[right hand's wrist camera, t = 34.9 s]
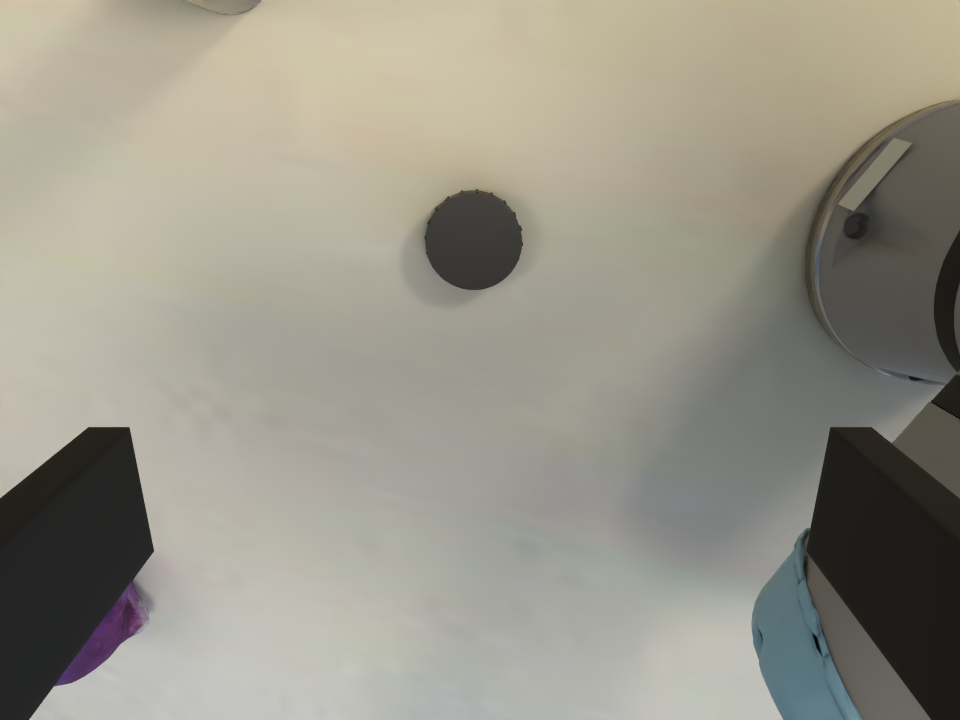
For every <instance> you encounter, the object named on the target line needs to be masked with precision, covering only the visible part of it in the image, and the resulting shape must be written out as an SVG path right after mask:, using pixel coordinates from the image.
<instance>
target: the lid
mask: <svg viewBox="0 0 960 720" xmlns="http://www.w3.org/2000/svg"><path fill="white" fill-rule="evenodd" d="M521 231H522V229H521V226H519V224H518V221H517V219H516V214H515V212H512V210H511V209H510V207H509V206H508V205H507V204H506V201H505V200H504V201H502V200H501V199H499V198H498V197H496V196H494V195H493V193H491V194H490V193H487V192H482V191H478V189H476V191H465V192H463V191H461V193H458V194H455V195H453V196H452V197H450V198H449V196H448V197H447V199H446V200H445V201H444V202H443V203H442V204H441V205H440V206H439V207H436V209H435V213H434V214H433V216H432V219H431V220H430V219H429V222H428V229H427V233H426V236H425V239H426V250H427V252H426V253H427V255H428V258H429V260H430V263H431V264H432V267H433V268H434V269H435V271H436V272H437V273H438V274H439V275H440V276H441V277H442V278H443V279H444V280H445V281H447V282H448V283H450V284H452V285H454V286H456V287H459V288H463V289H468V290H480V289H485V288H489V287H492V286H494V285H496V284H498V283H499V282H501V281H502V280H504V279H505V278H506V277H507V276H508V275H509V274H510V273H511V272H512V270H513V269H514V267H515V266H516V264H517V262H518V261H519V257H520V253H521V248H522V246H523V243H522V236H521Z"/></svg>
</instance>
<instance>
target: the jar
mask: <svg viewBox="0 0 960 720" xmlns="http://www.w3.org/2000/svg"><path fill="white" fill-rule="evenodd" d="M184 1H187V2H189V3H192V4H195V5H197V6H200V7H203V8H205V9H208V10H211V11H213V12H216V13H220V14H226V15H234V14H240V13H243V12H246V11H248V10H250V9H251V8H253V7H254V6H256V5H257V4H258V3H259V2H260V1H261V0H184Z"/></svg>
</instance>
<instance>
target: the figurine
mask: <svg viewBox="0 0 960 720" xmlns="http://www.w3.org/2000/svg"><path fill="white" fill-rule="evenodd" d="M148 624H149V614H148V609H147V607H146V605H145V602H144V601H143V599H142V598H141V597H140V595H139V594H138V593H137V591H136V590H135V588H134V585H133V583H132V581H131V583H130V584H129V586H128V587H127V588H126V590H125V591H124V592H123V594H122V595H121V596H120V598H119V599H118V600H117V602H116V603H115V604H114V606H113V607H112V608H111V610H110V611H109V612H108V614H107V615H106V617H105V618H104V619H103V621H102V622H101V623H100V625H99V626H98V627H97V629H96V630H95V631H94V633H93V634H92V635H91V637H90V638H89V639H88V641H87V642H86V643H85V645H84V646H83V648H82V649H81V650H80V652H79V653H78V654H77V656H76V657H75V658H74V660H73V661H72V662H71V664H70V665H69V666H68V668H67V669H66V670H65V672H64V673H63V674H62V676H61V677H60V679H59V680H58V681H57V683H56V684H55V685H54V686H58V685H64V684H68V683H72V682H74V681H77V680H78V679H80V678H82V677H84V676H86V675H87V674H89V673H90V672H92V671H93V670H95V669H96V668H97V667H98V666H100V665H101V664H102V663H103V662H104V661H106V660H107V659H108V658H109V657H110V656H111V655H112V654H113V652H114V651H115V650H116V649H117V647H118V646H119V645H120V644H121V643H123V642H124V641H125V640H127V639H128V638H129V637H131V636H133V635H135V634H137V633H139V632H141V631H143V630H144V629H145V628H146V627H147V625H148Z"/></svg>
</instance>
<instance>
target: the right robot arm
mask: <svg viewBox="0 0 960 720" xmlns="http://www.w3.org/2000/svg"><path fill="white" fill-rule="evenodd" d="M806 280H807V287H808V293H809V296H810V300H811V303H812V306H813V309H814V311H815V314H816V316H817V318H818V320H819V321H820V323H821V325H822V327H823V328H824V329H825V331H826V332H827V334H828V335H829V336H830V337H831V338H832V339H833V340H834V341H835V343H836V344H837V345H839V346H840V347H841V348H842V349H843V350H844V351H846V352H847V353H849V354H850V355H852V356H853V357H855V358H856V359H858V360H859V361H861V362H862V363H864V364H865V365H867V366H869V367H871V368H873V369H875V370H876V371H879V372H881V373H884V374H886V375H889V376H893V377H895V378H899V379H902V380H906V381H910V382H915V383H922V384H933V385H946V386H945V387H944V388H943V389H942V390H941V391H940V392H939V393H938V394H937V396H936V397H935V398H934V399H933V400H931V402H929V403H928V404H927V405H926V406H925V407H924V408H923V410H922V411H921V412H920V413H919V414H918V415H917V416H916V417H915V418H914V420H913V421H912V422H911V423H910V424H909V425H908V426H907V427H906V429H905V430H904V431H903V432H902V433H901V434H900V435H899V436H898V437H897V439H896V440H895V441H894V442H893V443H890V442H889V441H888V440H887V439H885V438H884V437H883V436H882V435H880V434H879V433H878V432H877V431H875V430H874V429H873V428H872V427H831V428H830V433H829V438H828V443H827V448H826V453H825V458H824V463H823V468H822V473H821V478H820V483H819V488H818V493H817V498H816V503H815V508H814V513H813V518H812V523H811V528H810V529H805V530H804V531H803V532H802V533H801V534H800V535H799V537H798V538H797V540H796V543H795V546H794V550H793V552H792V553H791V554H790V555H789V557H788V558H787V559H786V560H785V562H784V563H783V564H782V565H781V566H780V568H779V569H778V570H777V571H776V573H775V574H774V575H773V576H772V578H771V579H770V580H769V581H768V583H767V584H766V585H765V586H764V588H763V589H762V590H761V592H760V594H759V595H758V597H757V599H756V602H755V605H754V609H753V614H752V635H753V644H754V647H755V650H756V653H757V656H758V658H759V665H760V670H761V673H762V675H763V678H764V680H765V683H766V685H767V687H768V689H769V692H770V694H771V696H772V698H773V701H774V703H775V705H776V707H777V708H778V710H779V712H780V714H781V716H782V718H783V720H960V421H959V420H960V100H953V101H949V102H945V103H940V104H937V105H934V106H931V107H928V108H925V109H922V110H920V111H918V112H915V113H913V114H911V115H909V116H907V117H905V118H903V119H901V120H899V121H898V122H896V123H894V124H893V125H891V126H890V127H888V128H887V129H885V130H883V131H882V132H881V133H879V134H878V135H877V136H876V137H874V138H873V139H872V140H870V141H869V142H868V143H867V144H866V145H865V146H864V147H863V148H862V149H860V150H859V151H858V152H857V153H856V154H855V156H854V157H853V158H852V159H851V160H850V161H849V162H848V163H847V164H846V166H845V167H844V168H843V169H842V171H841V172H840V173H839V175H838V176H837V177H836V179H835V180H834V182H833V183H832V185H831V186H830V188H829V190H828V191H827V193H826V195H825V197H824V199H823V201H822V203H821V205H820V207H819V209H818V212H817V214H816V217H815V220H814V223H813V226H812V228H811V233H810V237H809V241H808V247H807V254H806ZM942 409H943V410H942ZM945 411H946V412H945ZM947 412H948V413H949V414H948V413H947ZM950 414H951V415H950ZM952 415H953V416H954V417H953V416H952ZM955 417H956V418H957V419H956V418H955ZM958 419H959V420H958ZM153 552H154V549H153V544H152V539H151V533H150V528H149V523H148V518H147V513H146V508H145V503H144V498H143V493H142V488H141V483H140V478H139V473H138V468H137V463H136V458H135V453H134V448H133V443H132V438H131V433H130V428H129V427H88V428H87V429H86V430H85V431H83V432H82V433H81V434H80V435H78V436H77V437H76V438H75V439H73V440H72V441H71V442H70V443H68V444H67V445H66V446H65V447H63V448H62V449H61V450H60V451H59V452H57V453H56V454H55V455H54V456H52V457H51V458H50V459H49V460H47V461H46V462H45V463H44V464H42V465H41V466H40V467H39V468H37V469H36V470H35V471H34V472H32V473H31V474H30V475H29V476H28V477H26V478H25V479H24V480H23V481H21V482H20V483H19V484H18V485H16V486H15V487H14V488H13V489H11V490H10V491H9V492H8V493H6V494H5V495H4V496H3V497H1V498H0V720H29V719H30V718H31V716H32V715H33V714H34V712H35V711H36V710H37V708H38V707H39V705H40V704H41V703H42V701H43V700H44V699H45V697H46V696H47V695H48V693H49V692H50V691H51V689H52V688H53V687H54V685H55V684H56V683H57V681H58V680H59V679H60V677H61V676H62V674H63V673H64V672H65V670H66V669H67V668H68V666H69V665H70V664H71V662H72V661H73V660H74V658H75V657H76V656H77V654H78V653H79V652H80V650H81V649H82V648H83V646H84V645H85V643H86V642H87V641H88V639H89V638H90V637H91V635H92V634H93V633H94V631H95V630H96V629H97V627H98V626H99V625H100V623H101V622H102V621H103V619H104V618H105V617H106V615H107V614H108V612H109V611H110V610H111V608H112V607H113V606H114V604H115V603H116V602H117V600H118V599H119V598H120V596H121V595H122V594H123V592H124V591H125V590H126V588H127V587H128V586H129V584H130V583H131V581H132V580H133V579H134V577H135V576H136V575H137V573H138V572H139V571H140V569H141V568H142V567H143V565H144V564H145V563H146V561H147V560H148V559H149V557H150V556H151V554H152V553H153Z"/></svg>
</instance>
